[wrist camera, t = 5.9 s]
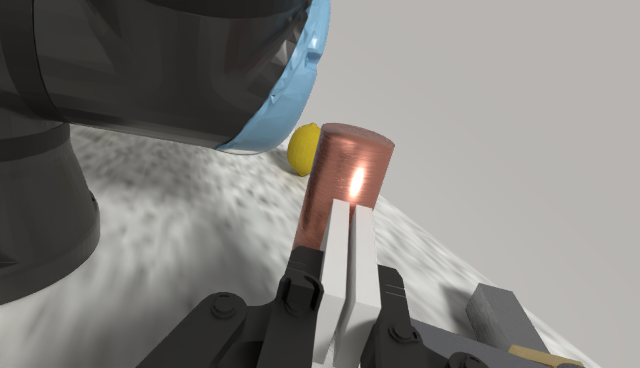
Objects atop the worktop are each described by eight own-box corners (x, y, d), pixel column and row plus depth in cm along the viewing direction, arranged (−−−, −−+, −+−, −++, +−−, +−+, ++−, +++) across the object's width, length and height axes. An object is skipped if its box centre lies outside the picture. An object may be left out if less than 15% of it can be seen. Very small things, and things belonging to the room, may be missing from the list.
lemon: (327, 180, 52) (341, 128, 49) (303, 187, 48) (316, 131, 45) (299, 165, 55) (311, 116, 52) (274, 171, 51) (285, 117, 48)
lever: (268, 323, 20) (312, 133, 15) (289, 280, 23) (330, 118, 19) (645, 463, 17) (824, 285, 13) (604, 391, 21) (732, 234, 17)
